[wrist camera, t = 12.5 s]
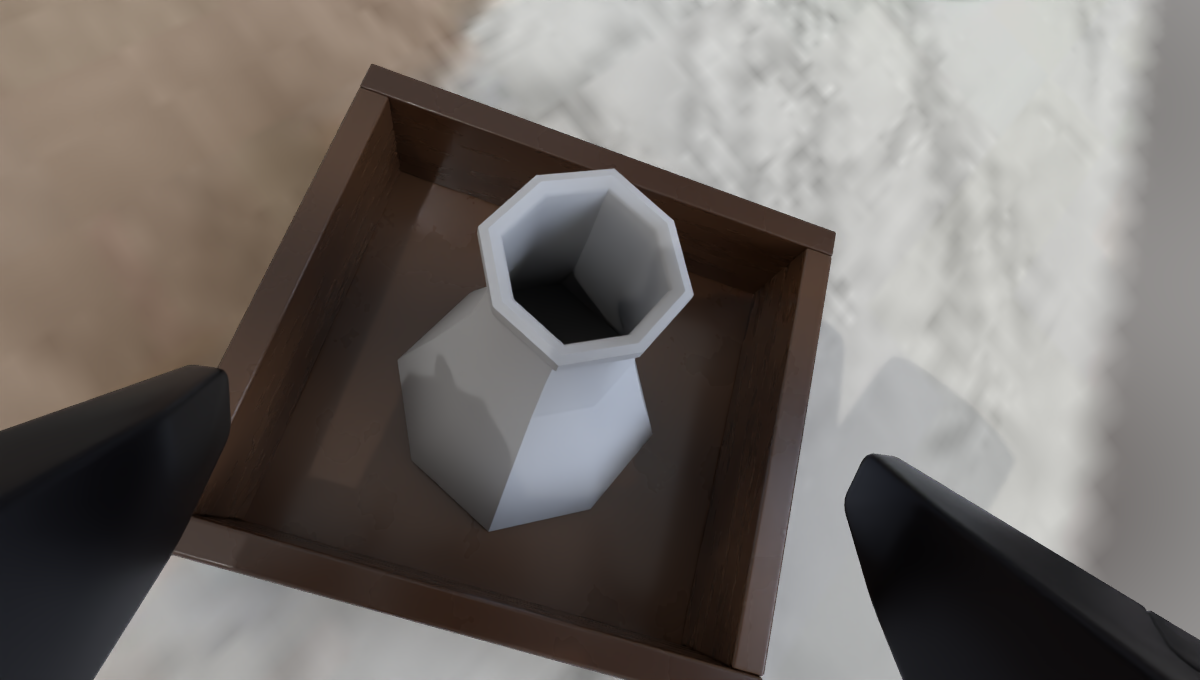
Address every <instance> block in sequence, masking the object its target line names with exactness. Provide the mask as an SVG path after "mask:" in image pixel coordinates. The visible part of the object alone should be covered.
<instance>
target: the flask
mask: <svg viewBox="0 0 1200 680" xmlns="http://www.w3.org/2000/svg"><path fill="white" fill-rule="evenodd" d="M477 235H478V241H479V246H480V252H481V258H482V263H483V269H484V274H485V280H486V285H487V287H484V288H481V289H478V290H475V291H473V292H471V293H469V294H468V295H467V296H466V297H465V298H464V299H463V300H462V301H461V302H460V303H458V304H457V305H456V306H455V307H454V308H453V309H452V310H451V311H450V312H449V313H448V314H447V315H446V316H444V317H443V318H442V319H441V320H440V321H439V322H438V323H437V324H436V325H435V326H434V327H433V328H432V329H430V330H429V331H428V332H427V333H426V334H425V335H424V336H423V337H422V338H421V339H420V340H419V341H418V342H416V343H415V344H414V345H413V346H412V347H411V348H410V349H409V350H408V351H407V352H406V353H405V354H404V355H402V356H401V357H400V358H399V359H398V367H399V375H400V382H401V389H402V396H403V403H404V411H405V418H406V425H407V432H408V439H409V447H410V454H411V460H412V461H413V462H414V463H415V464H416V465H417V466H418V467H419V468H420V469H421V470H423V471H424V472H425V473H426V474H427V475H428V476H429V477H430V478H431V479H432V480H433V481H434V482H435V483H437V484H438V485H439V486H440V487H441V488H442V489H443V490H444V491H445V492H446V493H447V494H448V495H449V496H451V497H452V498H453V499H454V500H455V501H456V502H457V503H458V504H459V505H460V506H461V507H462V508H463V509H465V510H466V511H467V512H468V513H469V514H470V515H471V516H472V517H473V518H474V519H475V520H476V521H477V522H479V523H480V524H481V525H482V526H483V527H484V528H485V529H486V530H487V531H488V532H490V531H494V530H499V529H503V528H508V527H512V526H517V525H521V524H526V523H530V522H535V521H539V520H544V519H549V518H553V517H558V516H562V515H567V514H571V513H576V512H580V511H585V510H589V509H591V508H592V507H593V505H594V504H595V503H596V502H597V501H598V499H599V498H600V497H601V496H602V495H603V493H604V492H605V491H606V490H607V489H608V487H609V486H610V485H611V484H612V483H613V481H614V480H615V479H616V478H617V476H618V475H619V474H620V473H621V472H622V470H623V469H624V468H625V467H626V466H627V464H628V463H629V462H630V461H631V460H632V458H633V457H634V456H635V455H636V454H637V452H638V451H639V450H640V449H641V448H642V446H643V445H644V444H645V443H646V442H647V440H648V439H649V438H650V437H651V435H652V430H651V425H650V421H649V417H648V413H647V408H646V404H645V400H644V396H643V391H642V387H641V383H640V379H639V375H638V370H637V366H636V362H635V358H637V357H640V356H641V355H642V354H643V353H644V351H645V350H646V349H647V348H648V347H649V346H650V345H651V344H652V342H653V341H654V340H655V339H656V338H657V337H658V336H659V335H660V333H661V332H662V331H663V330H664V329H665V328H666V327H667V326H668V324H669V323H670V322H671V321H672V320H673V319H674V318H675V317H676V315H677V314H678V313H679V312H680V311H681V310H682V309H683V308H684V306H685V305H686V304H687V303H688V302H689V301H690V300H691V298H692V297H693V295H694V294H693V290H692V286H691V283H690V279H689V275H688V271H687V268H686V264H685V260H684V257H683V253H682V249H681V245H680V242H679V238H678V234H677V231H676V227H675V223H674V220H672V219H671V218H670V217H669V216H668V215H667V214H666V213H664V212H663V211H662V210H661V209H660V208H659V207H658V206H656V205H655V204H654V203H653V202H652V201H651V200H650V199H648V198H647V197H646V196H645V195H644V194H643V193H642V192H640V191H639V190H638V189H637V188H636V187H635V186H634V185H632V184H631V183H630V182H629V181H628V180H627V179H626V178H624V177H623V176H622V175H621V174H620V173H619V172H618V171H616V170H615V169H604V170H592V171H580V172H569V173H557V174H545V175H536V176H535V177H534V178H532V179H531V180H530V181H529V182H528V183H527V184H526V185H525V186H523V187H522V188H521V189H520V190H519V191H518V192H517V193H515V194H514V195H513V196H512V197H511V198H510V199H509V200H508V201H506V202H505V203H504V204H503V205H502V206H501V207H500V208H499V209H497V210H496V211H495V212H494V213H493V214H492V215H491V216H489V217H488V218H487V219H486V220H485V221H484V222H483V223H482V224H480V225H479V226H478V230H477Z"/></svg>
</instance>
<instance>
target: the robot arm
mask: <svg viewBox="0 0 1200 680" xmlns="http://www.w3.org/2000/svg"><path fill="white" fill-rule="evenodd" d="M230 429H231V412H230V393H229V379H228V376H227V373H226V372H225V371H224V370H223V369H220V368H214V367H207V366H199V365H188V366H184V367H182V368H179V369H176V370H173V371H170V372H167V373H165V374H162V375H159V376H156V377H153V378H150V379H147V380H145V381H142V382H139V383H136V384H133V385H130V386H127V387H125V388H122V389H119V390H116V391H113V392H110V393H107V394H105V395H102V396H99V397H96V398H93V399H90V400H87V401H85V402H82V403H79V404H76V405H73V406H70V407H68V408H65V409H62V410H59V411H56V412H53V413H50V414H48V415H45V416H42V417H39V418H36V419H33V420H30V421H28V422H25V423H22V424H19V425H16V426H13V427H10V428H8V429H5V430H2V431H0V680H94V678H95V676H96V675H97V673H98V672H99V670H100V668H101V667H102V665H103V664H104V662H105V660H106V659H107V657H108V656H109V654H110V652H111V651H112V649H113V648H114V646H115V644H116V643H117V641H118V640H119V638H120V636H121V635H122V633H123V632H124V630H125V628H126V627H127V625H128V624H129V622H130V620H131V619H132V617H133V616H134V614H135V612H136V611H137V609H138V608H139V606H140V604H141V603H142V601H143V600H144V598H145V596H146V595H147V593H148V592H149V590H150V589H151V587H152V585H153V584H154V582H155V581H156V579H157V577H158V576H159V574H160V573H161V571H162V569H163V568H164V566H165V565H166V563H167V561H168V560H169V558H170V556H171V555H172V553H173V551H174V550H175V548H176V546H177V545H178V543H179V541H180V539H181V537H182V535H183V533H184V531H185V529H186V527H187V525H188V523H189V521H190V519H191V517H192V515H193V513H194V511H195V508H196V506H197V504H198V502H199V500H200V498H201V496H202V494H203V491H204V489H205V487H206V485H207V483H208V481H209V479H210V477H211V474H212V472H213V470H214V468H215V466H216V464H217V462H218V460H219V457H220V455H221V453H222V451H223V449H224V447H225V445H226V442H227V440H228V437H229V434H230ZM844 507H845V514H846V517H847V520H848V524H849V527H850V531H851V534H852V537H853V541H854V544H855V548H856V551H857V555H858V558H859V561H860V565H861V568H862V572H863V575H864V578H865V582H866V585H867V589H868V592H869V595H870V598H871V601H872V604H873V607H874V609H875V612H876V615H877V617H878V620H879V622H880V625H881V627H882V630H883V632H884V635H885V637H886V640H887V642H888V645H889V647H890V650H891V652H892V654H893V657H894V659H895V662H896V664H897V667H898V669H899V672H900V674H901V677H902V679H903V680H1200V640H1199V639H1197V638H1195V637H1194V636H1192V635H1190V634H1189V633H1187V632H1185V631H1183V630H1182V629H1180V628H1179V627H1177V626H1175V625H1173V624H1172V623H1170V622H1169V621H1167V620H1165V619H1164V618H1162V617H1160V616H1159V615H1157V614H1155V613H1154V612H1152V611H1146V609H1145V608H1144V607H1143V606H1142V605H1140V604H1139V603H1137V602H1135V601H1134V600H1132V599H1130V598H1129V597H1127V596H1126V595H1124V594H1122V593H1120V592H1119V591H1117V590H1116V589H1114V588H1112V587H1111V586H1109V585H1107V584H1106V583H1104V582H1102V581H1101V580H1099V579H1097V578H1096V577H1094V576H1093V575H1091V574H1089V573H1088V572H1086V571H1084V570H1083V569H1081V568H1079V567H1078V566H1076V565H1074V564H1073V563H1071V562H1069V561H1068V560H1066V559H1064V558H1063V557H1061V556H1059V555H1058V554H1056V553H1054V552H1053V551H1051V550H1050V549H1048V548H1046V547H1045V546H1043V545H1041V544H1040V543H1038V542H1036V541H1035V540H1033V539H1031V538H1030V537H1028V536H1026V535H1025V534H1023V533H1021V532H1020V531H1018V530H1016V529H1015V528H1013V527H1012V526H1010V525H1008V524H1007V523H1005V522H1003V521H1002V520H1000V519H998V518H997V517H995V516H993V515H992V514H990V513H988V512H987V511H985V510H983V509H982V508H980V507H978V506H977V505H975V504H974V503H972V502H970V501H969V500H967V499H965V498H964V497H962V496H960V495H959V494H957V493H955V492H954V491H952V490H950V489H949V488H947V487H945V486H944V485H942V484H940V483H939V482H937V481H936V480H934V479H932V478H931V477H929V476H927V475H926V474H924V473H922V472H921V471H919V470H917V469H916V468H914V467H912V466H911V465H909V464H907V463H906V462H904V461H902V460H901V459H899V458H897V457H894V456H889V455H881V454H870V455H867V456H866V457H865V458H864V459H863V461H862V462H861V464H860V466H859V469H858V471H857V473H856V475H855V477H854V479H853V481H852V483H851V485H850V487H849V489H848V492H847V494H846V497H845V504H844Z"/></svg>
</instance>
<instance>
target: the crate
mask: <svg viewBox="0 0 1200 680" xmlns="http://www.w3.org/2000/svg"><path fill="white" fill-rule="evenodd" d="M360 87H361V88H359V90H358V92H357V94H356V96H355V98H354V100H353V102H352V104H351V106H350V108H349V110H348V112H347V114H346V116H345V117H344V119H343V121H342V123H341V125H340V127H339V129H338V131H337V133H336V135H335V137H334V139H333V141H332V143H331V145H330V147H329V149H328V151H327V153H326V155H325V157H324V159H323V161H322V163H321V165H320V167H319V169H318V171H317V173H316V175H315V177H314V179H313V181H312V183H311V185H310V186H309V188H308V190H307V192H306V194H305V196H304V198H303V200H302V202H301V204H300V206H299V208H298V210H297V212H296V214H295V216H294V218H293V220H292V222H291V224H290V226H289V228H288V230H287V232H286V234H285V236H284V238H283V240H282V242H281V244H280V246H279V248H278V250H277V252H276V253H275V255H274V257H273V259H272V261H271V263H270V265H269V267H268V269H267V271H266V273H265V275H264V277H263V279H262V281H261V283H260V285H259V287H258V289H257V291H256V293H255V295H254V297H253V299H252V301H251V303H250V305H249V307H248V309H247V311H246V313H245V315H244V317H243V319H242V321H241V322H240V324H239V326H238V328H237V330H236V332H235V334H234V336H233V338H232V340H231V342H230V344H229V346H228V348H227V350H226V352H225V354H224V356H223V358H222V360H221V362H220V364H219V366H218V368H220V369H223V370H224V371H225V372H226V373H227V376H228V379H229V393H230V412H231V429H230V434H229V437H228V440H227V442H226V445H225V447H224V449H223V451H222V453H221V455H220V457H219V460H218V462H217V464H216V466H215V468H214V470H213V472H212V474H211V477H210V479H209V481H208V483H207V485H206V487H205V489H204V491H203V494H202V496H201V498H200V500H199V502H198V504H197V506H196V508H195V511H194V513H193V515H192V517H191V519H190V521H189V523H188V525H187V527H186V529H185V531H184V533H183V535H182V537H181V539H180V541H179V543H178V545H177V546H176V548H175V550H174V551H173V553H172V555H175V556H178V557H182V558H185V559H189V560H193V561H196V562H200V563H204V564H207V565H211V566H214V567H218V568H222V569H225V570H229V571H233V572H236V573H240V574H243V575H247V576H251V577H254V578H258V579H262V580H265V581H269V582H272V583H276V584H280V585H283V586H287V587H291V588H294V589H298V590H301V591H305V592H309V593H312V594H316V595H320V596H323V597H327V598H330V599H334V600H338V601H341V602H345V603H349V604H352V605H356V606H359V607H363V608H367V609H370V610H374V611H378V612H381V613H385V614H388V615H392V616H396V617H399V618H403V619H407V620H410V621H414V622H417V623H421V624H425V625H428V626H432V627H436V628H439V629H443V630H446V631H450V632H454V633H457V634H461V635H465V636H468V637H472V638H475V639H479V640H483V641H486V642H490V643H494V644H497V645H501V646H505V647H508V648H512V649H515V650H519V651H523V652H526V653H530V654H534V655H537V656H541V657H544V658H548V659H552V660H555V661H559V662H563V663H566V664H570V665H573V666H577V667H581V668H584V669H588V670H592V671H595V672H599V673H602V674H606V675H610V676H613V677H617V678H621V679H624V680H762V678H761V677H760V676H763V674H764V671H765V664H766V658H767V652H768V646H769V640H770V634H771V627H772V621H773V615H774V609H775V603H776V597H777V590H778V584H779V578H780V572H781V566H782V560H783V554H784V547H785V541H786V535H787V529H788V523H789V517H790V510H791V504H792V498H793V492H794V486H795V480H796V473H797V467H798V461H799V455H800V449H801V443H802V436H803V430H804V424H805V418H806V412H807V406H808V399H809V393H810V387H811V381H812V375H813V369H814V363H815V356H816V350H817V344H818V338H819V332H820V326H821V319H822V313H823V307H824V301H825V295H826V289H827V282H828V276H829V270H830V264H831V256H832V254H833V248H834V242H835V236H836V233H835V232H834V231H831V230H828V229H825V228H823V227H820V226H817V225H814V224H812V223H809V222H806V221H803V220H801V219H798V218H795V217H792V216H790V215H787V214H784V213H781V212H779V211H776V210H773V209H770V208H768V207H765V206H762V205H759V204H757V203H754V202H751V201H748V200H746V199H743V198H740V197H737V196H735V195H732V194H729V193H726V192H724V191H721V190H718V189H715V188H713V187H710V186H707V185H704V184H702V183H699V182H696V181H693V180H691V179H688V178H685V177H682V176H680V175H677V174H674V173H671V172H669V171H666V170H663V169H660V168H658V167H655V166H652V165H649V164H647V163H644V162H641V161H638V160H636V159H633V158H630V157H627V156H625V155H622V154H619V153H616V152H614V151H611V150H608V149H605V148H603V147H600V146H597V145H594V144H592V143H589V142H586V141H583V140H581V139H578V138H575V137H572V136H570V135H567V134H564V133H561V132H559V131H556V130H553V129H550V128H548V127H545V126H542V125H539V124H537V123H534V122H531V121H528V120H526V119H523V118H520V117H517V116H515V115H512V114H509V113H506V112H504V111H501V110H498V109H495V108H493V107H490V106H487V105H484V104H482V103H479V102H476V101H473V100H471V99H468V98H465V97H462V96H460V95H457V94H454V93H451V92H449V91H446V90H443V89H440V88H437V87H435V86H432V85H429V84H427V83H424V82H421V81H418V80H415V79H413V78H410V77H407V76H404V75H402V74H399V73H396V72H393V71H391V70H388V69H385V68H382V67H380V66H377V65H374V64H371V66H370V68H369V70H368V72H367V74H366V75H365V77H364V79H363V81H362V83H361V85H360ZM604 169H615V170H616V171H618V172H619V173H620V174H621V175H622V176H623V177H624V178H626V179H627V180H628V181H629V182H630V183H631V184H632V185H634V186H635V187H636V188H637V189H638V190H639V191H640V192H642V193H643V194H644V195H645V196H646V197H647V198H648V199H650V200H651V201H652V202H653V203H654V204H655V205H656V206H658V207H659V208H660V209H661V210H662V211H663V212H664V213H666V214H667V215H668V216H669V217H670V218H671V219H672V220H674V223H675V227H676V231H677V234H678V238H679V242H680V245H681V249H682V253H683V257H684V260H685V264H686V268H687V271H688V275H689V279H690V283H691V286H692V290H693V294H694V295H693V297H692V298H691V300H690V301H689V302H688V303H687V304H686V305H685V306H684V308H683V309H682V310H681V311H680V312H679V313H678V314H677V315H676V317H675V318H674V319H673V320H672V321H671V322H670V323H669V324H668V326H667V327H666V328H665V329H664V330H663V331H662V332H661V333H660V335H659V336H658V337H657V338H656V339H655V340H654V341H653V342H652V344H651V345H650V346H649V347H648V348H647V349H646V350H645V351H644V353H643V354H642V355H641V356H640V357H637V358H635V362H636V366H637V370H638V375H639V379H640V383H641V387H642V391H643V396H644V400H645V404H646V408H647V413H648V417H649V421H650V425H651V430H652V435H651V437H650V438H649V439H648V440H647V442H646V443H645V444H644V445H643V446H642V448H641V449H640V450H639V451H638V452H637V454H636V455H635V456H634V457H633V458H632V460H631V461H630V462H629V463H628V464H627V466H626V467H625V468H624V469H623V470H622V472H621V473H620V474H619V475H618V476H617V478H616V479H615V480H614V481H613V483H612V484H611V485H610V486H609V487H608V489H607V490H606V491H605V492H604V493H603V495H602V496H601V497H600V498H599V499H598V501H597V502H596V503H595V504H594V505H593V507H592V508H591V509H589V510H585V511H580V512H576V513H571V514H567V515H562V516H558V517H553V518H549V519H544V520H539V521H535V522H530V523H526V524H521V525H517V526H512V527H508V528H503V529H499V530H494V531H490V532H488V531H487V530H486V529H485V528H484V527H483V526H482V525H481V524H480V523H479V522H477V521H476V520H475V519H474V518H473V517H472V516H471V515H470V514H469V513H468V512H467V511H466V510H465V509H463V508H462V507H461V506H460V505H459V504H458V503H457V502H456V501H455V500H454V499H453V498H452V497H451V496H449V495H448V494H447V493H446V492H445V491H444V490H443V489H442V488H441V487H440V486H439V485H438V484H437V483H435V482H434V481H433V480H432V479H431V478H430V477H429V476H428V475H427V474H426V473H425V472H424V471H423V470H421V469H420V468H419V467H418V466H417V465H416V464H415V463H414V462H413V461H412V460H411V454H410V447H409V439H408V432H407V425H406V418H405V411H404V403H403V396H402V389H401V382H400V375H399V367H398V359H399V358H400V357H401V356H402V355H404V354H405V353H406V352H407V351H408V350H409V349H410V348H411V347H412V346H413V345H414V344H415V343H416V342H418V341H419V340H420V339H421V338H422V337H423V336H424V335H425V334H426V333H427V332H428V331H429V330H430V329H432V328H433V327H434V326H435V325H436V324H437V323H438V322H439V321H440V320H441V319H442V318H443V317H444V316H446V315H447V314H448V313H449V312H450V311H451V310H452V309H453V308H454V307H455V306H456V305H457V304H458V303H460V302H461V301H462V300H463V299H464V298H465V297H466V296H467V295H468V294H469V293H471V292H473V291H475V290H478V289H481V288H484V287H487V285H486V280H485V274H484V269H483V263H482V258H481V252H480V246H479V241H478V235H477V230H478V226H479V225H480V224H482V223H483V222H484V221H485V220H486V219H487V218H488V217H489V216H491V215H492V214H493V213H494V212H495V211H496V210H497V209H499V208H500V207H501V206H502V205H503V204H504V203H505V202H506V201H508V200H509V199H510V198H511V197H512V196H513V195H514V194H515V193H517V192H518V191H519V190H520V189H521V188H522V187H523V186H525V185H526V184H527V183H528V182H529V181H530V180H531V179H532V178H534V177H535V176H536V175H545V174H557V173H569V172H580V171H592V170H604Z"/></svg>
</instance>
